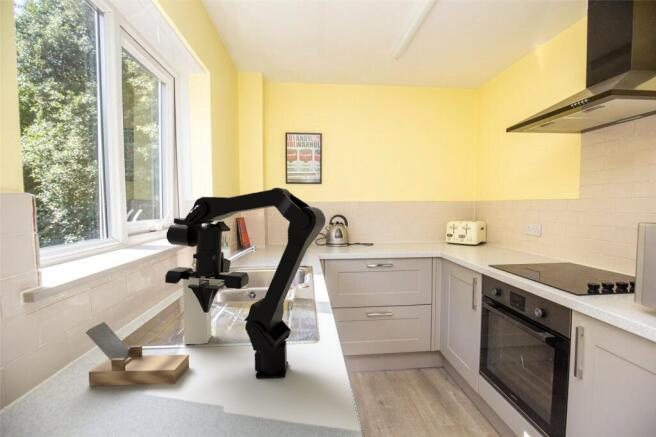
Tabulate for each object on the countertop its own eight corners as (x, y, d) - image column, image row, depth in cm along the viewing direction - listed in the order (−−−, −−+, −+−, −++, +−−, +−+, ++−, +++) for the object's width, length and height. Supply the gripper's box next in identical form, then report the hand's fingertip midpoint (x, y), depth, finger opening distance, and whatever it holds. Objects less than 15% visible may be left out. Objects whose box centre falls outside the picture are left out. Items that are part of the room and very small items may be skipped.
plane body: (189, 367, 73) (188, 344, 73) (174, 383, 66) (174, 358, 66) (111, 368, 72) (111, 346, 72) (89, 385, 65) (88, 360, 65)
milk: (211, 335, 92) (210, 261, 91) (206, 344, 86) (205, 264, 85) (189, 336, 91) (188, 262, 90) (183, 345, 85) (182, 265, 84)
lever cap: (133, 354, 71) (104, 321, 71) (120, 364, 67) (88, 329, 66) (127, 359, 71) (98, 326, 71) (114, 369, 67) (82, 334, 66)
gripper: (257, 247, 82) (254, 304, 83) (190, 242, 84) (188, 298, 84) (241, 253, 71) (238, 320, 72) (164, 247, 73) (162, 313, 73)
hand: (206, 312), depth 76 cm, fingers closed
